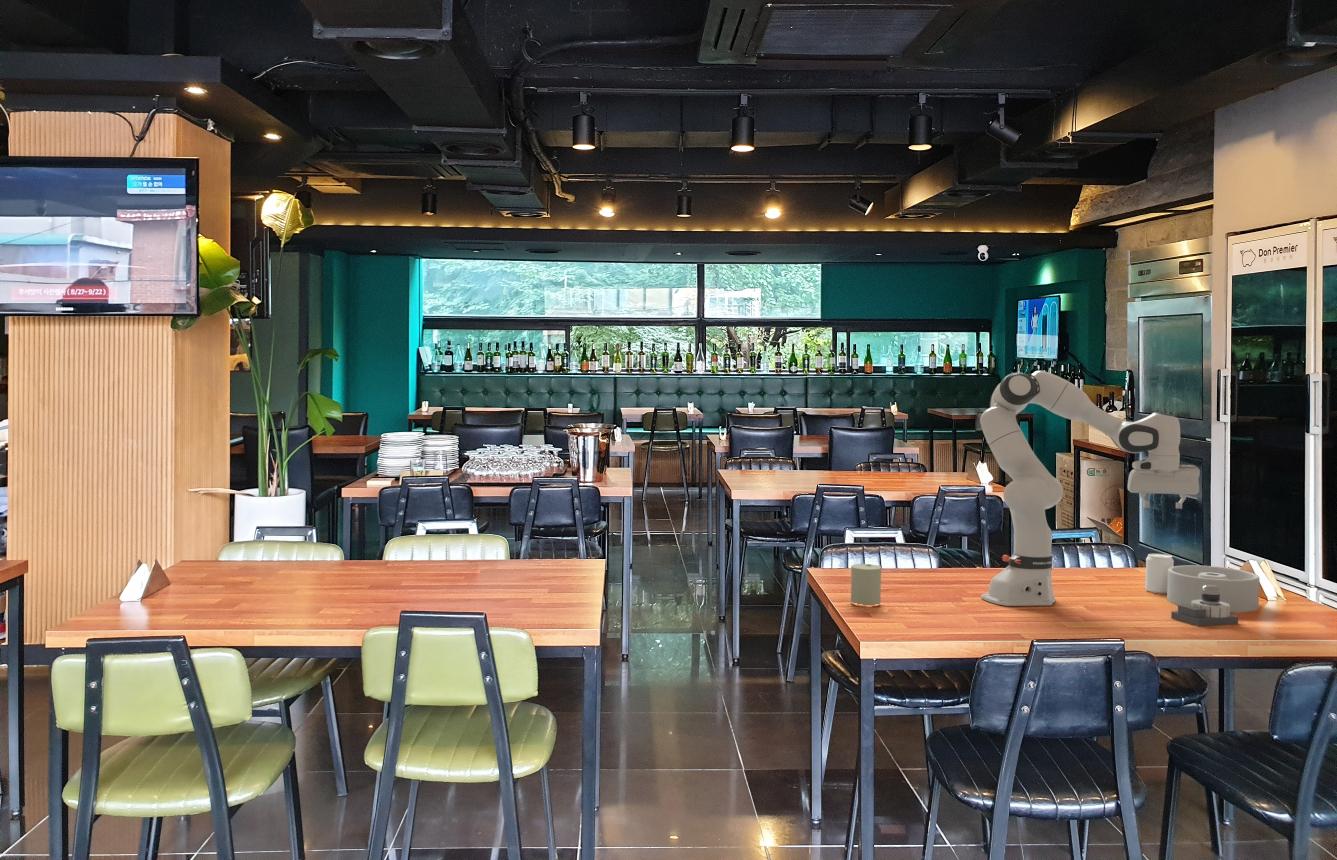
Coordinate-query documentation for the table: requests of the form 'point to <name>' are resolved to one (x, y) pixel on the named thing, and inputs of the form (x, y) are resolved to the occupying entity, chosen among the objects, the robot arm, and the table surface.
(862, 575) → the can
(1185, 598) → the container
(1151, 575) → the beverage can
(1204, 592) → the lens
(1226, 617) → the stepped dark base plate
